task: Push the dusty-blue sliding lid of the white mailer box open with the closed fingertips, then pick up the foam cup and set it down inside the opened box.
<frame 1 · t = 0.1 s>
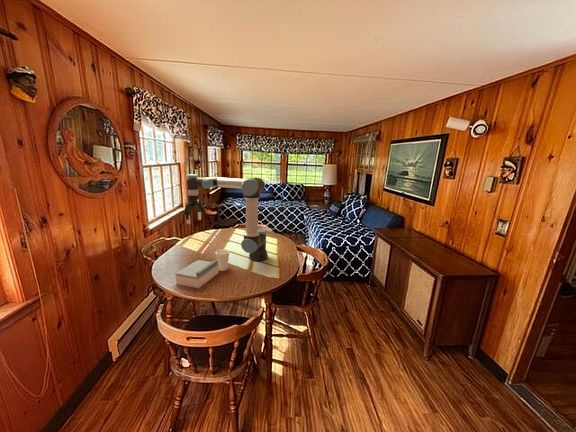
hand: (194, 221, 188), 28 cm above the table, fingers open, 13 cm apart
foam cup: (222, 269, 172), on the table
mailer box: (198, 278, 156), on the table
lid: (198, 266, 155), point 8 cm above the table, slide at 0.0 cm
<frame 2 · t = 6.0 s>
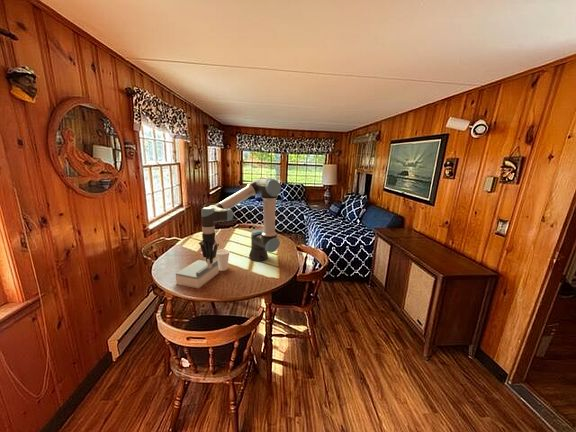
hand: (209, 267, 152), 9 cm above the table, fingers closed
lid: (198, 266, 155), point 8 cm above the table, slide at 0.0 cm, touching gripper
everything else where it was.
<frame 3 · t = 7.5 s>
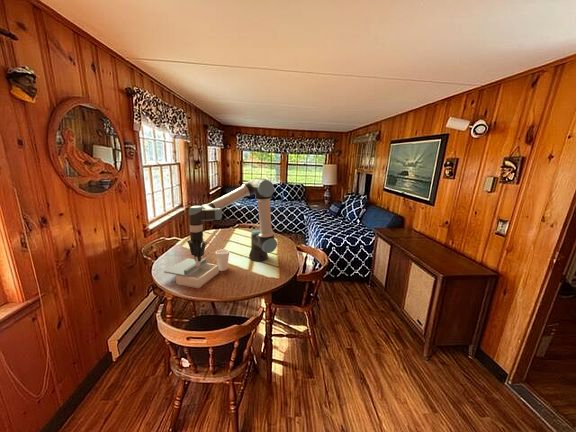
hand: (198, 265, 154), 9 cm above the table, fingers closed
lid: (186, 264, 157), point 8 cm above the table, slide at 8.7 cm, touching gripper
everything else where it was.
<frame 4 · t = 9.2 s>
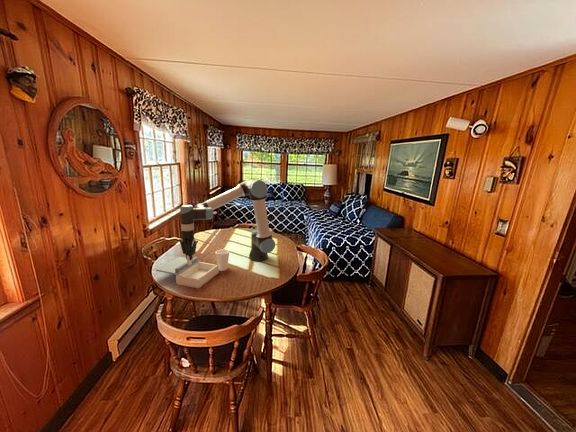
hand: (189, 264, 156), 9 cm above the table, fingers closed
lid: (178, 263, 159), point 8 cm above the table, slide at 15.1 cm, touching gripper
everything else where it was.
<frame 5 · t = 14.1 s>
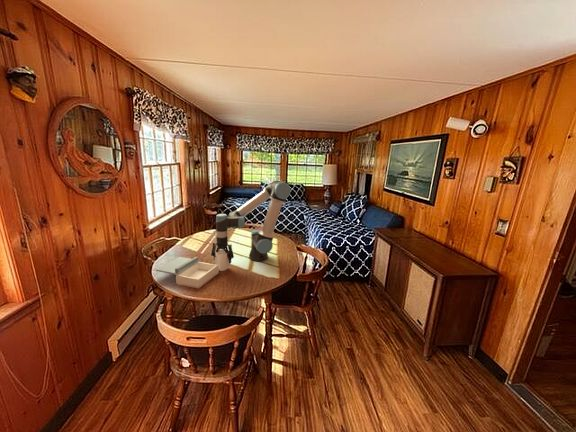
hand: (222, 266, 171), 2 cm above the table, fingers closed on foam cup, 9 cm apart
foam cup: (222, 269, 172), on the table, touching gripper
lid: (178, 263, 159), point 8 cm above the table, slide at 15.2 cm
when the fingers open (5 cm above the table, at t = 19.7 s): foam cup drops 1 cm, resting on mailer box.
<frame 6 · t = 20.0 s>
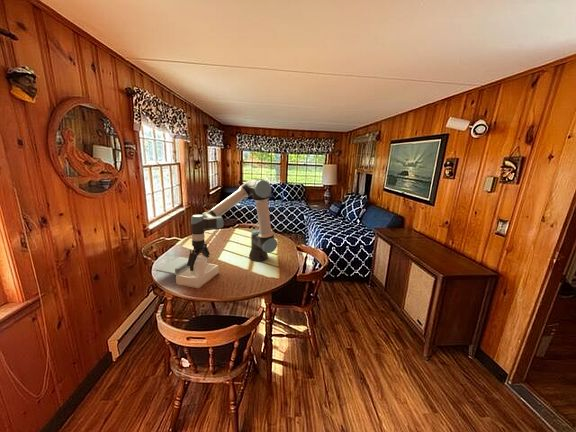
hand: (199, 270, 155), 6 cm above the table, fingers open, 13 cm apart
foam cup: (199, 277, 156), point 1 cm above the table, touching mailer box
everything else where it was.
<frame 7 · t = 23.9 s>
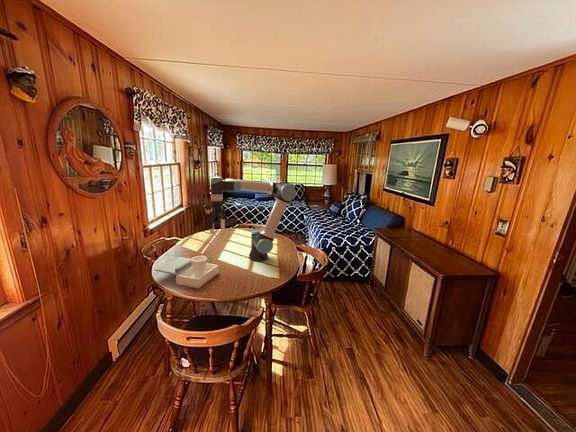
hand: (217, 230, 164), 29 cm above the table, fingers open, 13 cm apart
nothing on the table moved.
at the end: lid slide at 15.2 cm; foam cup inside the target area on the mailer box (1.0 cm from its centre), point 0.8 cm above the mailer box's base; foam cup tilted 0° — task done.
